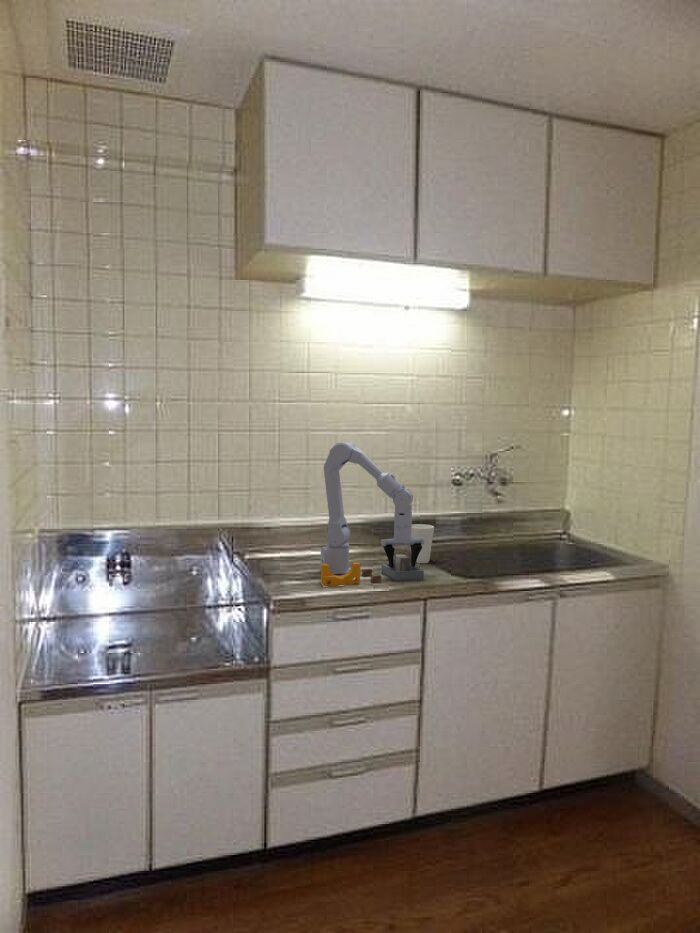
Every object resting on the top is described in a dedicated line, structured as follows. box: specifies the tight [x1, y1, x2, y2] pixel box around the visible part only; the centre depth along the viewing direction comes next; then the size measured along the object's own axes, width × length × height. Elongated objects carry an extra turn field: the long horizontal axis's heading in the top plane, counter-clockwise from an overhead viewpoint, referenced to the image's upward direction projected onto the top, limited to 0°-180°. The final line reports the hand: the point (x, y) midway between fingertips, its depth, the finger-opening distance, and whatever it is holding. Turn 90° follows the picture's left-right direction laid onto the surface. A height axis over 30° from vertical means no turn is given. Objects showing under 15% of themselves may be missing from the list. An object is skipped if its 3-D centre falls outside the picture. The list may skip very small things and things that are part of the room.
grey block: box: [394, 553, 411, 571], centre depth 218 cm, size 3×7×6 cm, turn 16°
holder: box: [361, 568, 382, 584], centre depth 214 cm, size 3×11×2 cm, turn 16°
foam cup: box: [409, 523, 435, 564], centre depth 242 cm, size 10×9×13 cm
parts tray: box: [381, 562, 425, 582], centre depth 218 cm, size 10×13×3 cm
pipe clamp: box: [320, 562, 361, 587], centre depth 206 cm, size 12×4×6 cm, turn 105°
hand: (402, 566), depth 218 cm, fingers open, 7 cm apart
